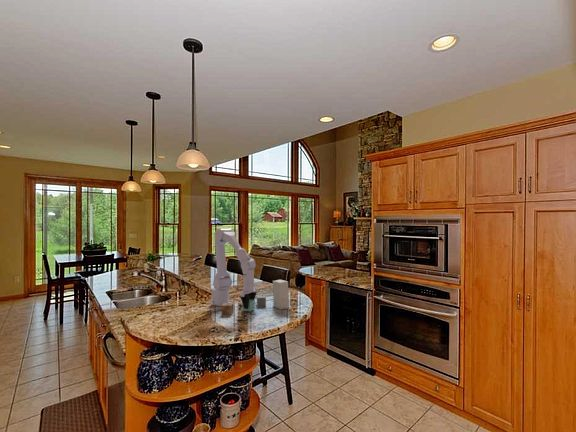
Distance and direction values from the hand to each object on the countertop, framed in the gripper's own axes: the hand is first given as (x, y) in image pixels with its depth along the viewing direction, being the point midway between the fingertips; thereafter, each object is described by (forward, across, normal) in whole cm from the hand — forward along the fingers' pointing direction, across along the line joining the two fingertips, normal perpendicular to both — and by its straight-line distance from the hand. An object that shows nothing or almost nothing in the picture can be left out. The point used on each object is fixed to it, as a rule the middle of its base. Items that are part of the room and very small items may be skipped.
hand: (248, 307), depth 161 cm
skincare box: (+2, +12, -14) cm, 19 cm away
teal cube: (+1, 0, 0) cm, 1 cm away
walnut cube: (+2, -8, +8) cm, 11 cm away
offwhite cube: (+2, +11, +7) cm, 13 cm away
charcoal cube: (+2, +12, -2) cm, 12 cm away
